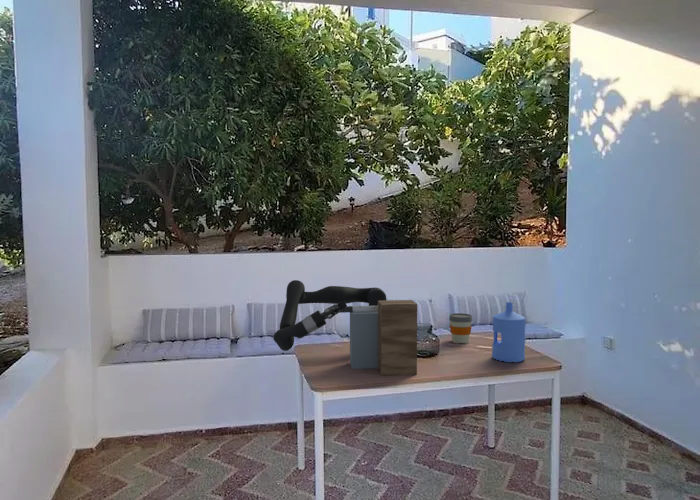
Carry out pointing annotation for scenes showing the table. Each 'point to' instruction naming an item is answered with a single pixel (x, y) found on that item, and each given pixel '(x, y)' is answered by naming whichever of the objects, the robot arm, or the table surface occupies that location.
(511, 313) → the water jug
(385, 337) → the upright wooden block
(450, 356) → the table surface
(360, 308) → the lever bar
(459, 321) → the reusable coffee cup
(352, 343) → the grey rectangular box
